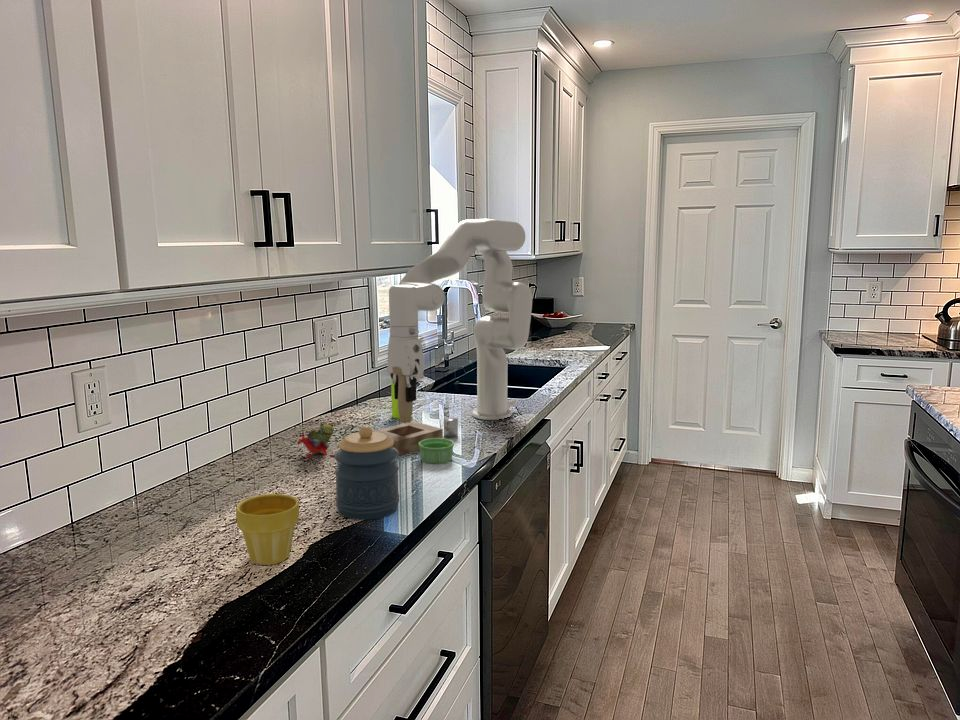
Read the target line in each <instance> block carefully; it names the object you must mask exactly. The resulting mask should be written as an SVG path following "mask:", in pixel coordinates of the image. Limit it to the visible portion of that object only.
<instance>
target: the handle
mask: <svg viewBox="0 0 960 720" xmlns="http://www.w3.org/2000/svg"><path fill="white" fill-rule="evenodd" d="M392 370H393V373H395V374H397V375H398V379H399V381H398V412H399V416H400V417H399V418H398V419H399V422H400V423H402V424H404V423H409V422H412V421H413V417H412V415H413V407H414V403H413V402H414V401H411V402H406V387H407V381H406V376H405V375H403V374H402V373H401V369H399V368H394V367H392ZM414 373H415V371H413V374H414ZM410 378H411V379H412V377H410Z"/></svg>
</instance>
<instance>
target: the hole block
mask: <svg viewBox="0 0 960 720" xmlns="http://www.w3.org/2000/svg"><path fill="white" fill-rule="evenodd" d="M372 432H380V433H383V434H385V435H387V436H388V437H390V438H392V439H393V440H394V444H393V446H392V447H394V448H395V449H397V450H398V456H397V457H400V455H401V456H403V455H407V454H410V453H415V452H417V451H420V448H419V445H418V444H419V442H420V441H422V440H424V439H429V438H444V428H440V427H436V426H433V425H429V424H426V423H422V422H419V421H415V420H412V421H411V422H409V423H401V424H397V425H392V426H388V427H385V428H380V429H376V430H372Z"/></svg>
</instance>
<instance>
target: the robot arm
mask: <svg viewBox="0 0 960 720" xmlns="http://www.w3.org/2000/svg"><path fill="white" fill-rule="evenodd" d="M525 241H526V231H525V229H524V227H523V226H522V225H521V224H520V223H519V222H516V221H508V220H499V219H491V218H490V219H489V218H479V219H478V218H475V219H474V218H473V219H465V220H461V221H460V222H459V223H458V224H457V225H456V226H455V227H454V229H453V230H452V232H451V233H450V234H449V236H448V237H447V238H446V240H445V241H444V242H443V244H442V245H441V246H440V247H439V249H437V251H436V252H434V253H433V254H431V255H429V256H427V257H426V258H425V259H422V260H421V261H420V262H418V263H417V264H415V265H413V267H411V268H410V269H409V270H408V271H407V272H406V274H405V275H404V276H403V277H402V279H401V280H400V281H399V283H398V284H395V285H391V286H390V287H389V288H388V312H389V313H388V314H389V318H388V319H389V337H388V343H387V344H388V346H387V368H386V371H387V373H388V374H389V375H390V379H391V378H392V380H393V384H395V385H394V397H395V399H398V381H399V379H398V375H397V374H395V373H393V370H392V367H394V368H399V369H401V373H402V374H403V375H405V376H406V381H407V387H406V402H411V401H413V402H415V401H417V387H418V385H419V383H420V382H421V380H422V379H424V378H425V375H424V372H425V371H424V370H425V364H424V351H423V346H422V340H421V337H419V333H420V330H419V312H422V311H423V312H434V311H437V310H439V309H440V308H441V307H442V306H443V305H444V304H445V298H446V295H445V291H444V290H443V288H442V287H441V286H439V285H438V284H436V283H433V282H436V281H438V280H442V279H444V278H448V277H451V276H454V275H457V274H458V273H460V272H461V271H462V270H463V269H464V267H465V266H466V264H467V263H468V261H469V260H470V259H471V257H472V256H473V254H475V252H476V251H479V252H480V254H481V256H482V258H483V261H484V279H483V280H484V281H483V290H482V300H481V301H482V306H483V307H484V309H486V310H487V311H489V312H494V313H503V314H504V313H506V314H508V317H507V316H499V315H498V316H495V315H486V316H483V317H480V318H479V319H478V320H477V321H476V322H475V324H474V327H473V337H474V341H475V347H476V360H477V361H476V363H477V364H476V366H477V367H476V369H477V370H476V375H477V376H476V382H477V385H476V391H477V392H476V393H477V394H476V396H477V397H476V399H477V400H476V401H477V402H476V405H477V407H476V408H475V409H474V410H472V413H471V414H472V415H471V416H473V418H475V419H479V420H483V421H485V420H486V421H500V420H499V419H502V420H505V419H504V418H507V417H509V416H511V415H512V416H513V411H512V410H510V407H514V406H516V405H517V401H516V399H511V400H509V399H508V367H509V366H508V364H509V363H508V357H507V353H506V351H505V350H506V349H507V350H515V351H517V350H520V349H522V348H524V347H525V345H526V344H527V342H528V339H529V335H530V329H531V328H530V326H531V319H532V310H533V294H532V291H531V289H530V287H529V286H528V285H527V284H526V283H524V282H517V281H513V270H514V269H513V268H514V266H513V263H512V259H511V257H510V256H509V254H508V252H516V251H518V250H520V249H522V247H523V246H524V245H525ZM504 349H505V350H504ZM413 371H415V373H414V374H413ZM410 377H411V378H410ZM512 416H511V417H512ZM507 419H508V418H507Z"/></svg>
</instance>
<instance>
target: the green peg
mask: <svg viewBox="0 0 960 720" xmlns="http://www.w3.org/2000/svg"><path fill="white" fill-rule="evenodd" d="M390 385H391V386H390V387H391V391H390V393H391V394H390V395H391V417H392V418H394V419H399V417H400V416H399V412H398V399H395V397H394V385H395V384H393V380H392V378H391V377H390Z"/></svg>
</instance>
